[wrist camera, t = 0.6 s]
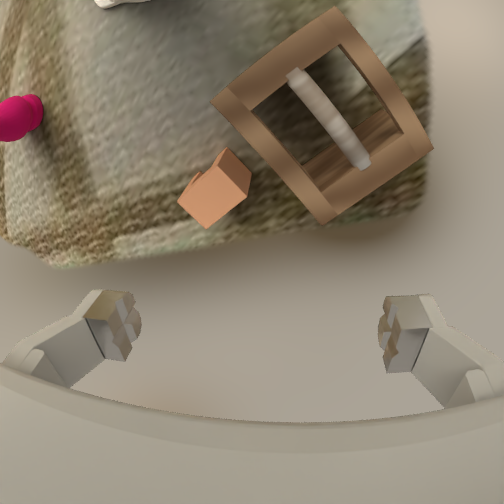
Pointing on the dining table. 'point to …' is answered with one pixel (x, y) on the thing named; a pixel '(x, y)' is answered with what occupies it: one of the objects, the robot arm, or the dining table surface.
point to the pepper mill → (19, 116)
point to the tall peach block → (216, 189)
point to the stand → (327, 119)
